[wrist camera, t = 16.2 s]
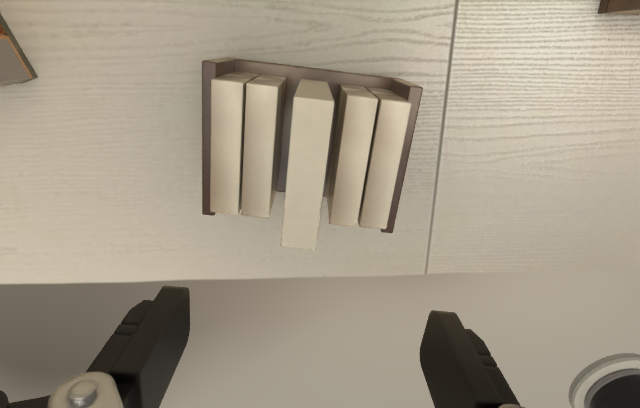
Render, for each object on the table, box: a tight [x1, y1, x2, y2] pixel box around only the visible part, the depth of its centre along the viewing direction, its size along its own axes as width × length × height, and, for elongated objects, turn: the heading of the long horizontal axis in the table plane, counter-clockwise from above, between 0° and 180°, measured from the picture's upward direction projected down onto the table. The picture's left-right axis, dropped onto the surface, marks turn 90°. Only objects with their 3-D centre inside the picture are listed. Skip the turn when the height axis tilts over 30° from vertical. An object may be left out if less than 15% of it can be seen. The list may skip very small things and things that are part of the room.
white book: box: [281, 79, 334, 250], centre depth 30 cm, size 2×10×13 cm, turn 174°
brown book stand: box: [202, 58, 423, 233], centre depth 33 cm, size 16×12×10 cm
